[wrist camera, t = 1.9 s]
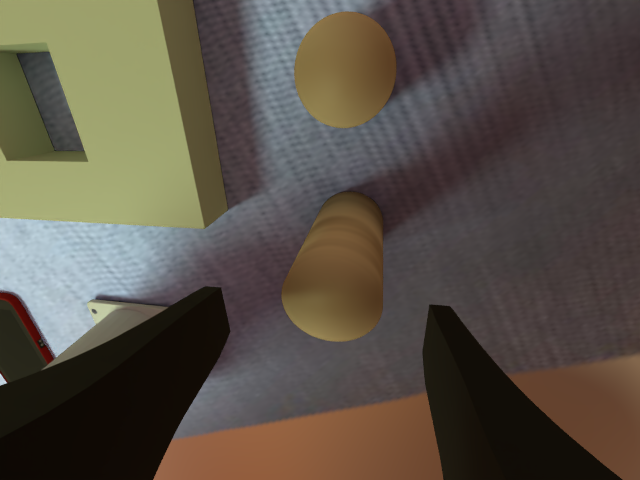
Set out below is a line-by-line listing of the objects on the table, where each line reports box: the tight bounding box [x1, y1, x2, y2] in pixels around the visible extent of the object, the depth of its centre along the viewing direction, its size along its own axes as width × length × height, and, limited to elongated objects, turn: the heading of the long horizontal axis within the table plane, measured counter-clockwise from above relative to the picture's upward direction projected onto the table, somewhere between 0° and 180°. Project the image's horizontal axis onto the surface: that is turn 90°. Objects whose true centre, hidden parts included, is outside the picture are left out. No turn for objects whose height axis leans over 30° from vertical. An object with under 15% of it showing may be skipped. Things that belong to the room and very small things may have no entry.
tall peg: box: [281, 191, 383, 341], centre depth 16 cm, size 4×4×8 cm
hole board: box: [0, 0, 228, 229], centre depth 18 cm, size 13×18×3 cm
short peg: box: [294, 12, 396, 128], centre depth 14 cm, size 4×4×4 cm
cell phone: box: [0, 293, 54, 383], centre depth 32 cm, size 8×15×1 cm, turn 3°
